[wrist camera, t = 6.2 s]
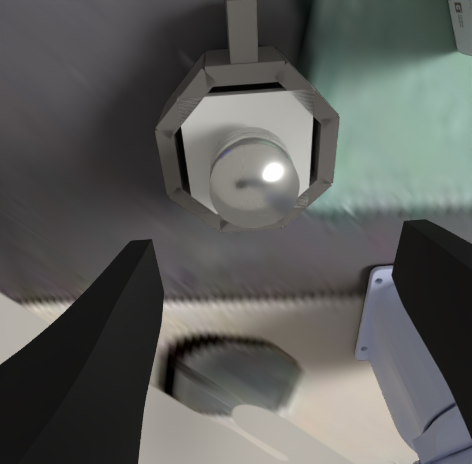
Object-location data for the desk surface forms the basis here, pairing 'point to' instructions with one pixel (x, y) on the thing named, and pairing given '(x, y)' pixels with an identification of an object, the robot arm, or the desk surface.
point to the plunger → (252, 178)
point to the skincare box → (462, 24)
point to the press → (244, 119)
